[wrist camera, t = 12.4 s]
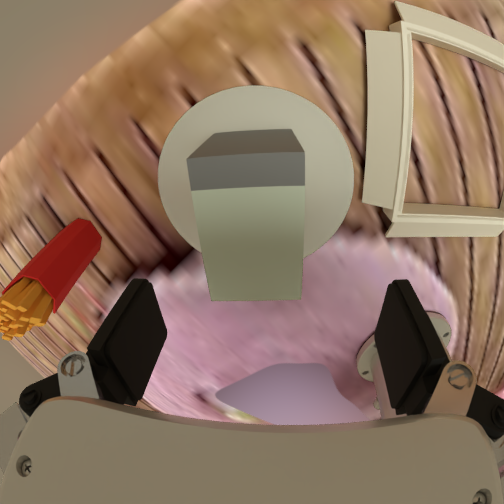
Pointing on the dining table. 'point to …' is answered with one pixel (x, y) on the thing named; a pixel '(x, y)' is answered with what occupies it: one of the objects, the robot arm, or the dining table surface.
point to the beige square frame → (400, 124)
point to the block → (250, 213)
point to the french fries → (47, 279)
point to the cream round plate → (262, 118)
